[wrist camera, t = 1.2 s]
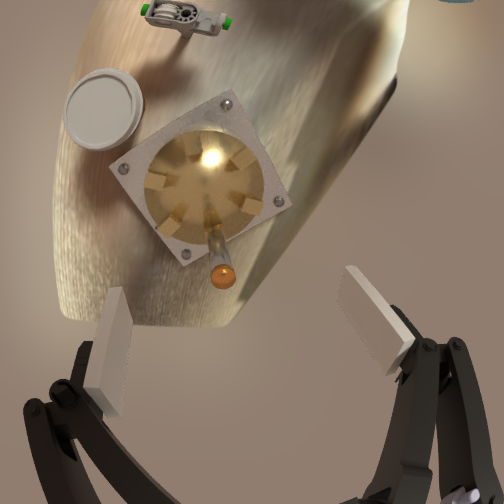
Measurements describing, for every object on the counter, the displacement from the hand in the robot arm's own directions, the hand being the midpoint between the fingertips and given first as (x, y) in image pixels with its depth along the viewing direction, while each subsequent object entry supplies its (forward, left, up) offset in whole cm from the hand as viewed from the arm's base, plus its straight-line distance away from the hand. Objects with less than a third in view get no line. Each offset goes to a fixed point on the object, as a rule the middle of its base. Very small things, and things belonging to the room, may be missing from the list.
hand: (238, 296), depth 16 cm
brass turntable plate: (+1, 0, -26) cm, 26 cm away
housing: (+1, 0, -29) cm, 29 cm away
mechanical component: (-8, -21, -29) cm, 36 cm away
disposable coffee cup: (+5, -16, -29) cm, 33 cm away
